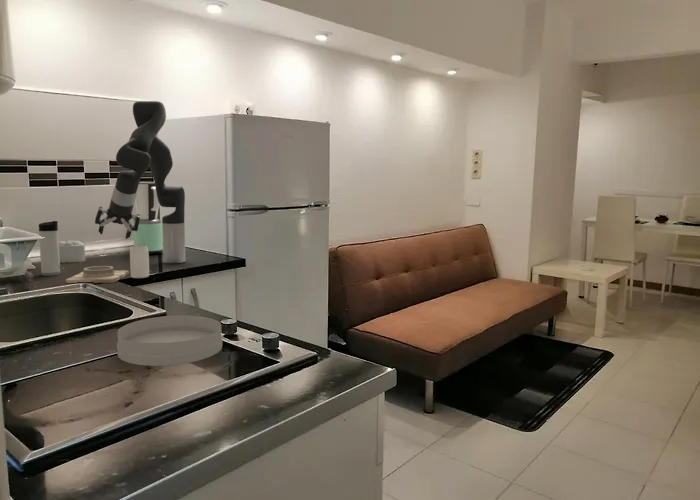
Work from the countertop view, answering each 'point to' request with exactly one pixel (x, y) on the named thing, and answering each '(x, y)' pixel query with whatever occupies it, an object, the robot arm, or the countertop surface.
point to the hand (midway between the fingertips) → (113, 235)
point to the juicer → (148, 218)
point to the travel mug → (49, 248)
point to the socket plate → (97, 279)
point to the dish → (169, 340)
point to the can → (139, 261)
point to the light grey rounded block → (71, 251)
